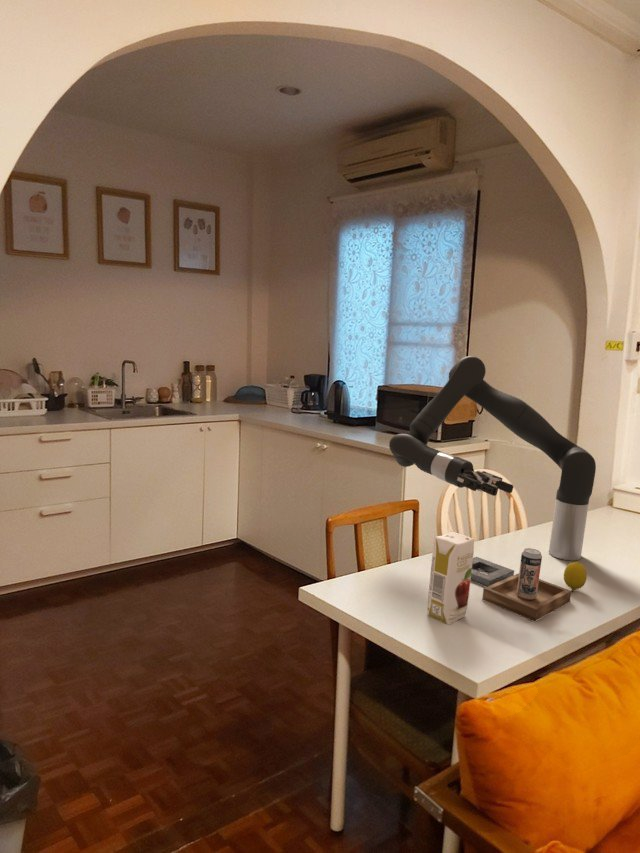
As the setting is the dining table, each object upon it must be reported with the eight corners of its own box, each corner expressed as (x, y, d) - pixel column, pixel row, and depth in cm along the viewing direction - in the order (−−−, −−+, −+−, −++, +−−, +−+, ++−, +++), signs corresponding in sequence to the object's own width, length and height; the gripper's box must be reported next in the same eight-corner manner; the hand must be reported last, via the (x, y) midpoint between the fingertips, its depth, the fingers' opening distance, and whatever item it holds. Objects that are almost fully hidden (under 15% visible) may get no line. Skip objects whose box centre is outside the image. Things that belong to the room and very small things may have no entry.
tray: (519, 582, 167) (520, 572, 166) (570, 602, 157) (571, 590, 156) (482, 599, 155) (483, 588, 154) (534, 621, 145) (535, 609, 144)
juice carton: (421, 614, 144) (429, 536, 141) (443, 605, 150) (451, 529, 147) (449, 627, 139) (458, 546, 136) (470, 616, 145) (479, 538, 142)
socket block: (475, 563, 179) (476, 556, 179) (513, 577, 170) (514, 570, 170) (451, 572, 171) (451, 565, 170) (489, 587, 162) (490, 580, 162)
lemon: (582, 588, 166) (587, 559, 165) (585, 596, 161) (589, 567, 160) (560, 584, 168) (564, 556, 166) (562, 592, 162) (567, 563, 161)
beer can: (516, 599, 154) (522, 553, 152) (515, 591, 158) (521, 546, 156) (537, 602, 153) (543, 555, 151) (535, 594, 157) (541, 549, 155)
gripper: (441, 457, 165) (495, 478, 154) (468, 455, 175) (521, 475, 165) (434, 484, 166) (487, 507, 156) (461, 480, 177) (513, 501, 166)
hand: (504, 490), depth 160 cm, fingers open, 8 cm apart
